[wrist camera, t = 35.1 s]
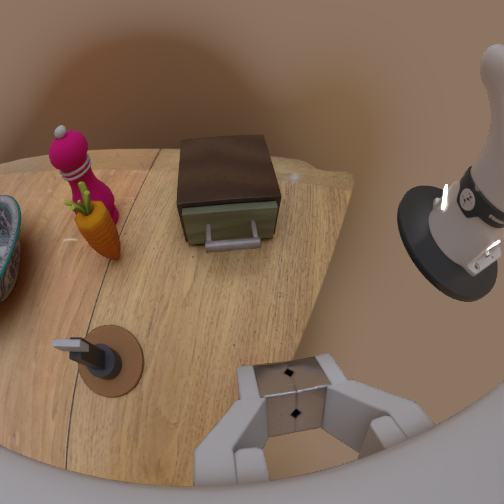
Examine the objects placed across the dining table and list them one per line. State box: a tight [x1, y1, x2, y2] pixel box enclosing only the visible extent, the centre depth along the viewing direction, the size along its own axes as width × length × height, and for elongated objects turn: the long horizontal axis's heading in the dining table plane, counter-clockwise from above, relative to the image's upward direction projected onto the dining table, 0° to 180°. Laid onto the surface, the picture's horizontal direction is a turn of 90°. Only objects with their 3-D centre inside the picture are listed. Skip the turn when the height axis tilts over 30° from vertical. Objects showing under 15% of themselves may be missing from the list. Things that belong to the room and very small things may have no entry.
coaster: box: [78, 325, 144, 397], centre depth 31 cm, size 10×10×1 cm
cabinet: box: [177, 135, 281, 242], centre depth 43 cm, size 15×14×9 cm
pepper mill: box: [49, 126, 119, 224], centre depth 35 cm, size 7×7×20 cm
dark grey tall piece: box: [53, 338, 122, 380], centre depth 26 cm, size 4×4×10 cm
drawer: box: [182, 201, 278, 253], centre depth 41 cm, size 18×12×7 cm
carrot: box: [65, 182, 120, 260], centre depth 33 cm, size 5×5×15 cm
